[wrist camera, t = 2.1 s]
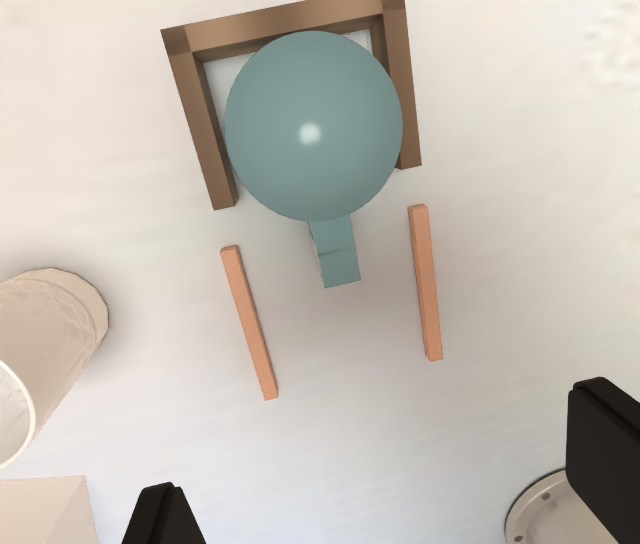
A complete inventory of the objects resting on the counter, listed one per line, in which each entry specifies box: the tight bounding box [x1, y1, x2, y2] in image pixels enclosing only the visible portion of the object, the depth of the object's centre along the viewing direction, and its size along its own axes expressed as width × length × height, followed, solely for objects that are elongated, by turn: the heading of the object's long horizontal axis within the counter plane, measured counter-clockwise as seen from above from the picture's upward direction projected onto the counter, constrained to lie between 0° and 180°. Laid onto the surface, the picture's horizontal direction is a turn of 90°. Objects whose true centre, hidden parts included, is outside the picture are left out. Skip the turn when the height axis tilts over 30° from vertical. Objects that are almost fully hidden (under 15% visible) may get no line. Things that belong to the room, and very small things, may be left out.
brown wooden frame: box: [160, 0, 422, 210], centre depth 22 cm, size 12×9×3 cm
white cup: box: [0, 268, 109, 470], centre depth 22 cm, size 8×8×10 cm
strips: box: [220, 204, 443, 400], centre depth 28 cm, size 14×12×1 cm
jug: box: [224, 31, 403, 288], centre depth 21 cm, size 8×12×8 cm
